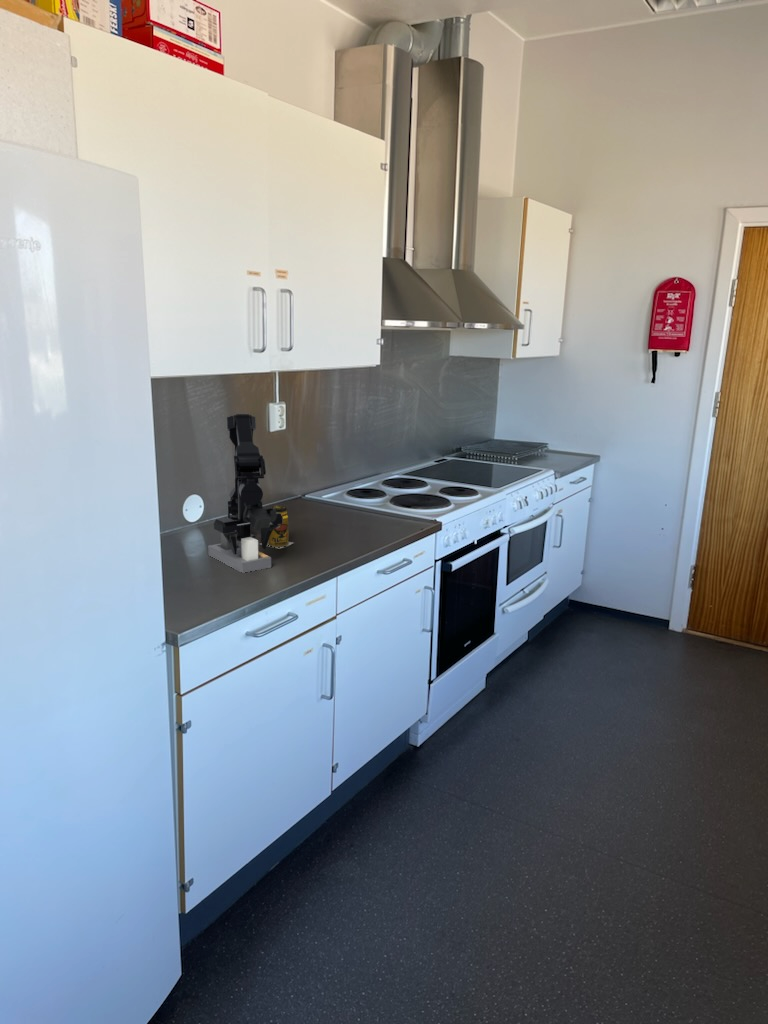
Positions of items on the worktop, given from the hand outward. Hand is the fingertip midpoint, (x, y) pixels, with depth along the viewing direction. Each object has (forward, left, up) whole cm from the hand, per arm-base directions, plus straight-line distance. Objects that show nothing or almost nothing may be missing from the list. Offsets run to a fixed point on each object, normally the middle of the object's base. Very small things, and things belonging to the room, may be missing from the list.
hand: (249, 551), depth 206 cm
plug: (0, 0, -4) cm, 5 cm away
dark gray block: (-12, 0, -4) cm, 13 cm away
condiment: (-15, +18, -5) cm, 24 cm away
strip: (-6, 0, -4) cm, 8 cm away
